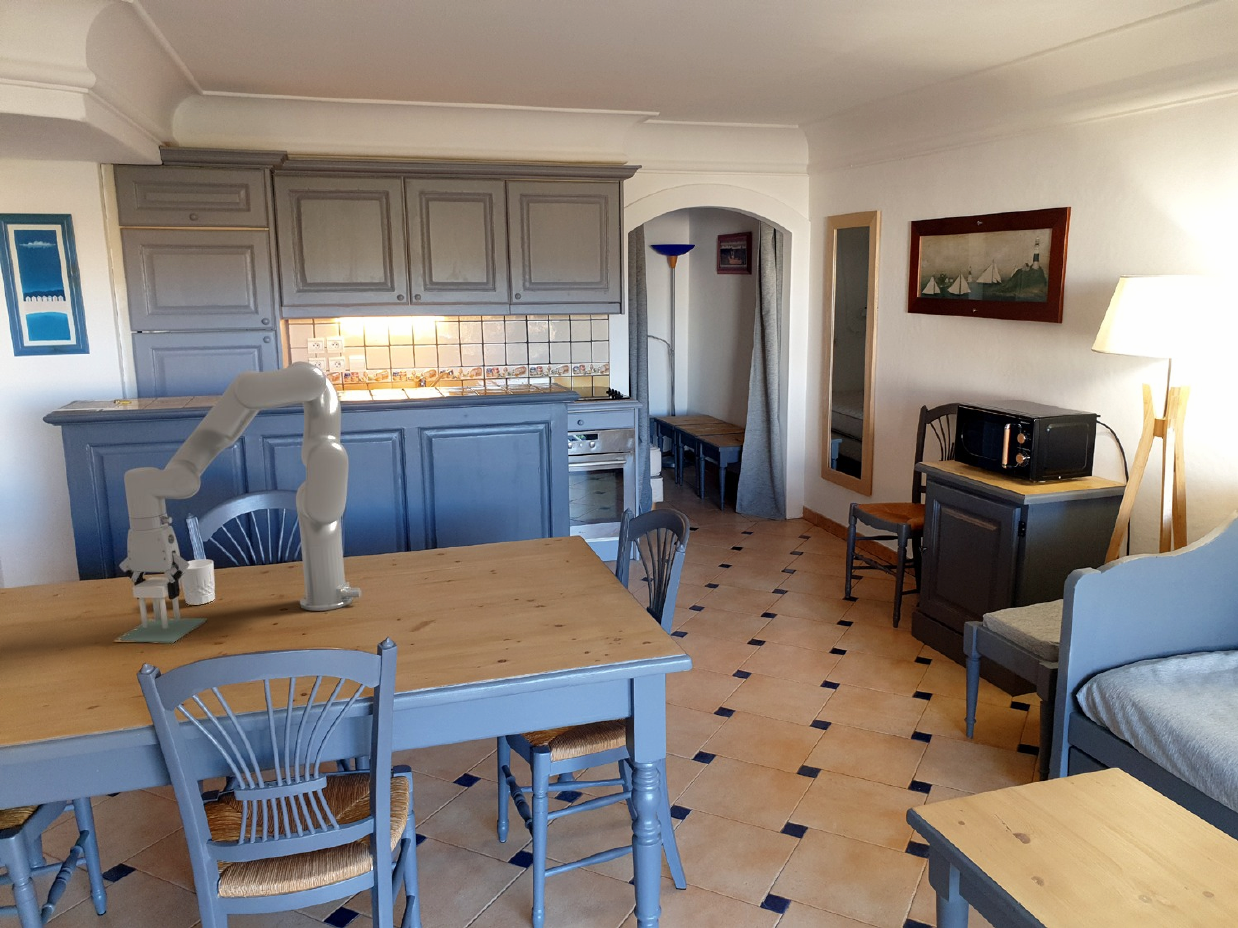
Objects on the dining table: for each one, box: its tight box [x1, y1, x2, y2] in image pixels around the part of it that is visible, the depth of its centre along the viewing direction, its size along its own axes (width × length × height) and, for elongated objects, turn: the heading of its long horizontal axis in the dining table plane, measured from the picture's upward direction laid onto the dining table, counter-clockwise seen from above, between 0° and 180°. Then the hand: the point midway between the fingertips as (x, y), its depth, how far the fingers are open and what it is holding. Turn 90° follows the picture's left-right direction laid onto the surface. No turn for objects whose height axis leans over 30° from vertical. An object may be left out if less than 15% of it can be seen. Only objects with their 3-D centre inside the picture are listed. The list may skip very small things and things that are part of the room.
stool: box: [132, 576, 182, 629], centre depth 206 cm, size 7×7×10 cm
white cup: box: [180, 558, 216, 605], centre depth 226 cm, size 8×8×10 cm
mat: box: [116, 617, 208, 644], centre depth 207 cm, size 14×14×1 cm
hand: (158, 596), depth 206 cm, fingers closed on stool, 7 cm apart
